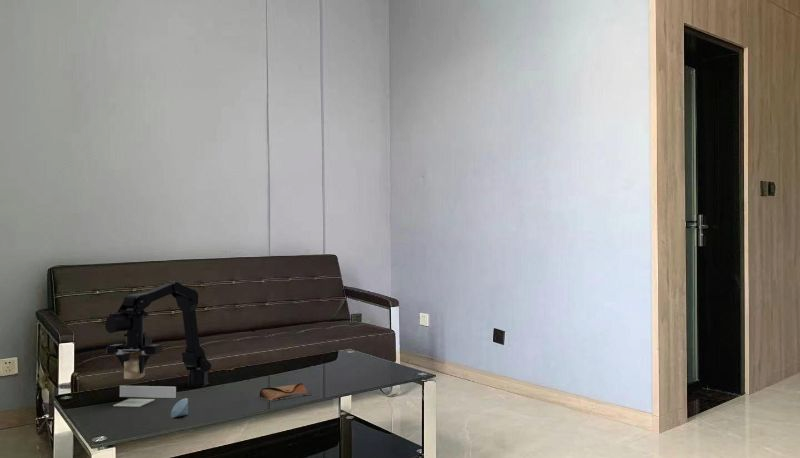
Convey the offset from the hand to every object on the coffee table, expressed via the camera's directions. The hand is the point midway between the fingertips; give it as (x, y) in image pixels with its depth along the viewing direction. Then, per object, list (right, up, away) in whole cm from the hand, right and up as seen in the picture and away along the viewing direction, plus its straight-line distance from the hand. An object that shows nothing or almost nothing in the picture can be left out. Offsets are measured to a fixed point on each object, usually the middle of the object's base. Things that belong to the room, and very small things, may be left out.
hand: (134, 373), depth 223 cm
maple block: (0, -2, 0) cm, 2 cm away
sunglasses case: (+53, -11, +7) cm, 55 cm away
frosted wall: (+1, -11, +8) cm, 14 cm away
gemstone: (+23, -10, -19) cm, 31 cm away
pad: (0, -11, 0) cm, 11 cm away
